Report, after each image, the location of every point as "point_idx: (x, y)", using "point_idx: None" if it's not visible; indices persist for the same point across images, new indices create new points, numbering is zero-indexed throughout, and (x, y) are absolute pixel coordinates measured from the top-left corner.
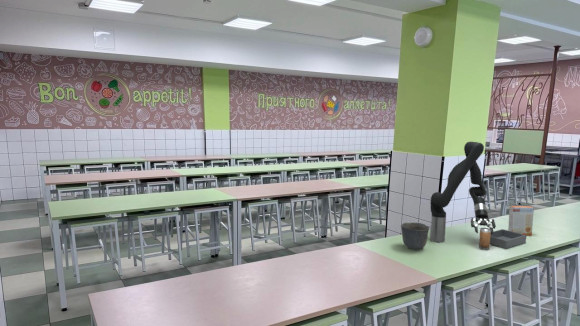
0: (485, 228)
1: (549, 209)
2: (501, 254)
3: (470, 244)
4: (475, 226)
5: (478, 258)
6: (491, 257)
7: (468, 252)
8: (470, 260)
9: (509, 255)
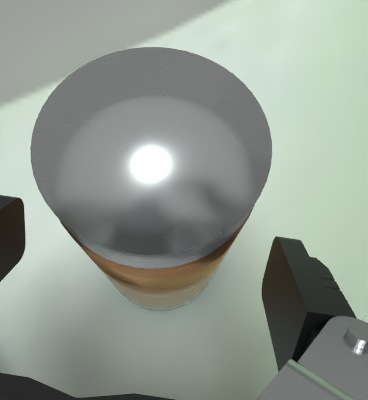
0: (132, 179)
1: None
2: None
3: None
4: (364, 326)
5: (299, 34)
6: None
7: (347, 138)
8: (362, 3)
9: (17, 103)
